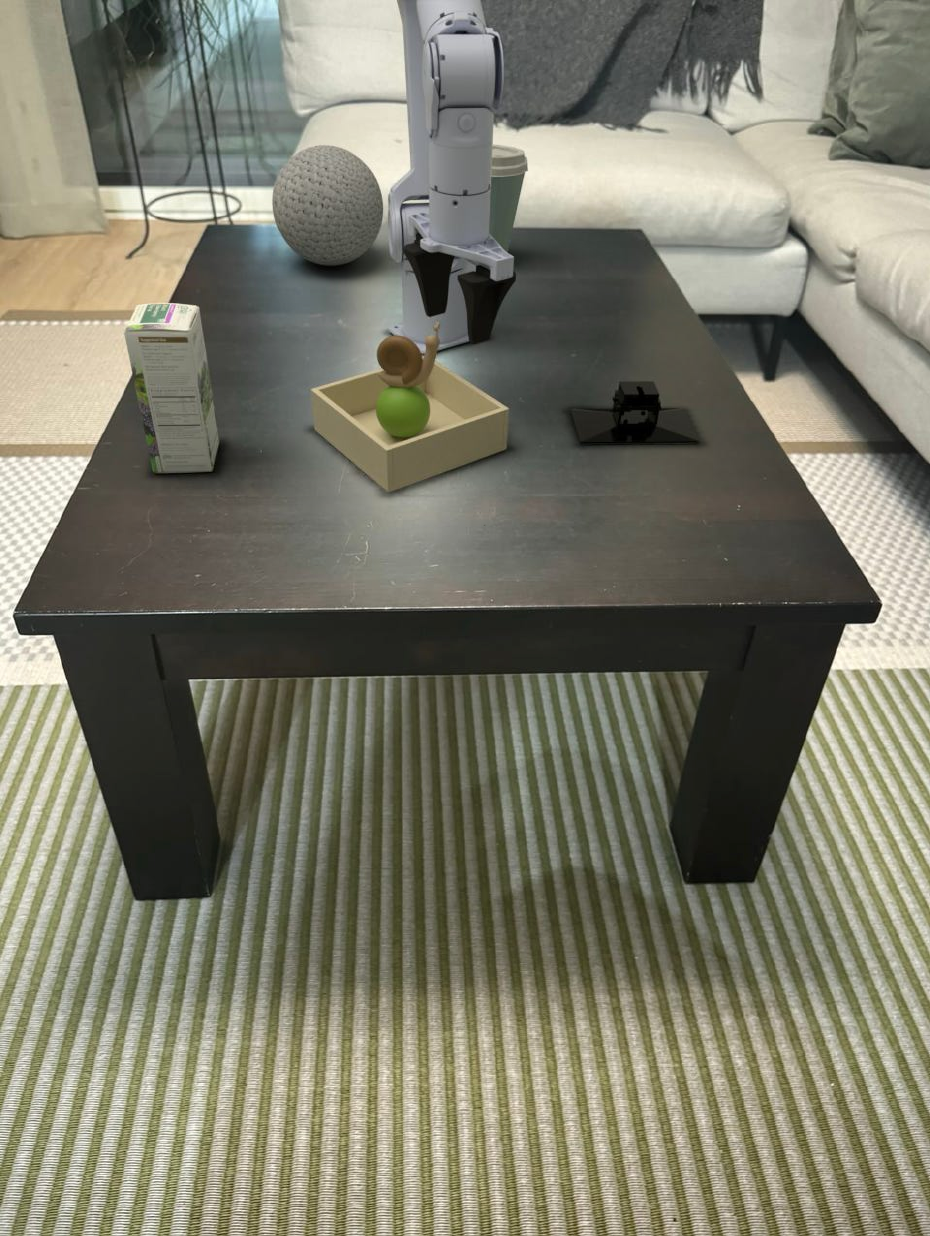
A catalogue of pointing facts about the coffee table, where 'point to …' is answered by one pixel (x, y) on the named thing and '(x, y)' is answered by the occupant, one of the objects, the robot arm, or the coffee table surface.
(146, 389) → the syrup box
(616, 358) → the coffee table surface
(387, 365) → the snail figurine
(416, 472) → the tray
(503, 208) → the disposable coffee cup
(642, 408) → the build plate
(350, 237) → the decorative ball
